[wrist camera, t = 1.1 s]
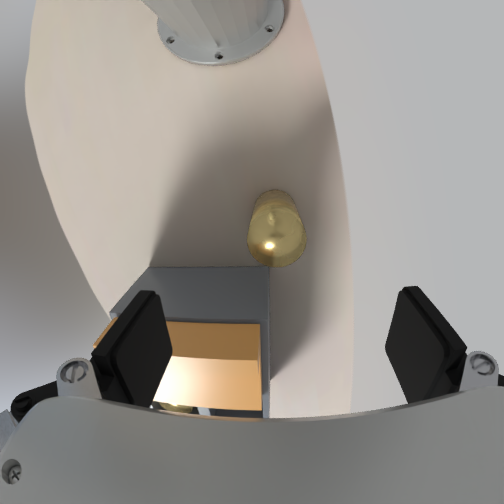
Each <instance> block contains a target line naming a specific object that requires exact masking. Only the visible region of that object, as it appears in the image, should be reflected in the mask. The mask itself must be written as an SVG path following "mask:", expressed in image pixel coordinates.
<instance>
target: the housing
mask: <svg viewBox="0 0 504 504" xmlns="http://www.w3.org/2000/svg"><path fill="white" fill-rule="evenodd" d="M140 290H152V291H155V292H156V294H158V295H159V296H160V298H161V303H162V307H163V311H164V316H165V320H166V321H171V322H191V323H220V324H260V340H261V371H262V410H232V409H216V408H204V407H194V406H193V409H192V412H190V413H189V414H197V415H207V416H219V417H237V418H269V411H270V295H269V266H264V267H148V268H147V269H146V271H145V272H144V273H143V274H142V275H141V276H140V277H139V278H138V280H137V281H136V282H135V283H134V284H133V285H132V286H131V287H130V289H129V290H128V291H127V292H126V293H125V294H124V296H123V297H122V298H121V299H120V300H119V301H118V303H117V304H116V305H115V306H114V307H113V308H112V310H111V311H110V312H109V313H110V316H111V319H112V320H113V318H114V317H119V316H120V315H121V313H122V312H123V311H124V310H125V308H126V307H127V306H128V304H129V303H130V302H131V301H132V299H133V298H134V297H135V296H136V295H137V293H138V292H139V291H140ZM150 408H153V409H159V410H166V409H164V408H163V407H162V406H161V405H160V404H159V402H157V401H153V402H152V404H151V407H150ZM166 411H168V410H166Z"/></svg>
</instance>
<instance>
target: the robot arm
mask: <svg viewBox="0 0 504 504" xmlns="http://www.w3.org/2000/svg"><path fill="white" fill-rule="evenodd" d="M141 1H142V2H143V3H145V4H146V5H147V6H148V7H149V8H150V9H151V10H152V11H153V12H154V13H155V14H156V15H157V16H158V21H157V26H158V33H159V36H160V39H161V41H162V42H163V44H164V45H165V47H166V48H167V49H168V50H170V51H171V52H172V53H173V54H174V55H176V56H177V57H179V58H180V59H183V60H185V61H187V62H190V63H194V64H198V65H206V66H218V65H227V64H232V63H236V62H239V61H242V60H245V59H247V58H250V57H251V56H253V55H255V54H257V53H259V52H260V51H262V50H263V49H264V48H266V47H267V46H268V45H269V44H270V43H271V42H272V41H273V40H274V39H275V37H276V36H277V34H278V32H279V31H280V29H281V26H282V23H283V20H284V4H283V1H282V0H141ZM268 30H271V31H272V32H267V31H268ZM172 41H174V42H173V43H171V42H172ZM220 56H222V57H223V58H222V59H220V60H219V59H218V58H219V57H220ZM466 349H467V346H466V345H465V343H464V342H463V341H462V339H461V338H460V337H459V335H458V334H457V333H456V332H455V330H454V329H453V328H452V326H450V324H449V323H448V322H447V320H446V319H445V318H444V317H443V315H442V314H441V313H440V312H439V310H438V309H437V308H436V307H435V306H434V304H433V303H432V302H431V301H430V300H429V299H428V298H427V296H426V295H425V294H424V293H423V292H422V290H421V289H420V288H419V287H418V286H409V287H404V288H403V289H402V291H400V292H399V294H398V298H397V302H396V306H395V311H394V314H393V318H392V322H391V326H390V330H389V333H388V337H387V341H386V344H385V350H386V353H387V356H388V358H389V360H390V362H391V364H392V367H393V369H394V371H395V374H396V376H397V378H398V380H399V383H400V385H401V388H402V390H403V392H404V395H405V397H406V400H407V402H408V404H405V405H400V406H395V407H390V408H384V409H378V410H372V411H365V412H358V413H350V414H341V415H330V416H318V417H302V418H237V417H219V416H207V415H197V414H188V413H180V412H173V411H166V410H159V409H153V408H150V407H151V404H152V402H153V399H154V397H155V394H156V392H157V390H158V387H159V385H160V382H161V380H162V378H163V375H164V373H165V371H166V368H167V366H168V363H169V361H170V359H171V356H172V353H173V348H172V344H171V340H170V336H169V332H168V328H167V324H166V320H165V316H164V311H163V307H162V303H161V298H160V296H159V295H158V294H156V292H155V291H152V290H140V291H139V292H138V293H137V295H136V296H135V297H134V298H133V299H132V301H131V302H130V303H129V304H128V306H127V307H126V308H125V310H124V311H123V312H122V313H121V315H120V316H119V317H118V318H117V320H116V321H115V322H114V324H113V325H112V326H111V328H110V329H109V330H108V332H107V333H106V334H105V335H104V337H103V338H102V339H101V341H100V342H99V344H98V345H97V346H96V348H95V349H94V350H93V352H92V353H91V355H92V358H91V360H90V361H89V360H87V359H84V358H73V359H70V360H68V361H66V362H65V363H63V364H62V365H61V366H60V367H59V369H58V371H57V375H56V378H57V381H54V382H51V383H49V384H46V385H43V386H41V387H37V388H35V389H32V390H29V391H26V392H23V393H21V394H19V395H18V396H17V397H16V398H15V399H14V400H13V402H12V404H11V411H10V412H9V411H8V410H7V409H6V410H5V411H3V412H2V413H0V504H504V376H502V375H500V374H498V372H499V368H498V364H497V362H496V360H495V359H494V358H493V357H492V356H491V355H489V354H487V353H485V352H481V351H474V352H471V353H470V354H469V355H467V354H466V353H465V351H466Z"/></svg>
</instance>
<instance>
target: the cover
mask: <svg viewBox="0 0 504 504" xmlns="http://www.w3.org/2000/svg"><path fill="white" fill-rule="evenodd" d="M117 318H118V317H114V318H113V320H112V321H111V322H110V324H109V325H108V326H107V328H106V329H105V330H104V331H103V333H102V334H101V335H100V337H99V338H98V339H97V341H96V342H95V343H94V344H93V347H94V349H95V348H96V346H97V345H98V344H99V342H100V341H101V339H102V338H103V337H104V335H105V334H106V333H107V332H108V330H109V329H110V328H111V326H112V325H113V324H114V322H115V321H116V320H117ZM166 324H167V328H168V332H169V336H170V340H171V344H172V348H173V353H172V356H171V359H170V361H169V363H168V366H167V368H166V371H165V373H164V375H163V378H162V380H161V382H160V385H159V387H158V390H157V392H156V394H155V397H154V399H153V401H157V402H164V403H170V404H178V405H186V406H194V407H204V408H216V409H232V410H262V371H261V340H260V324H220V323H191V322H171V321H166Z"/></svg>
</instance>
